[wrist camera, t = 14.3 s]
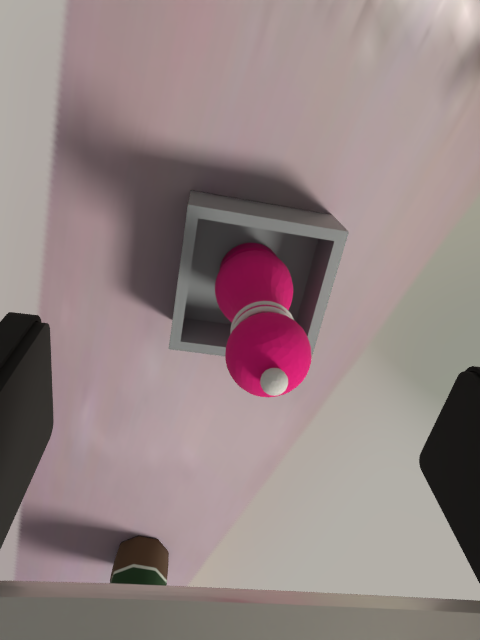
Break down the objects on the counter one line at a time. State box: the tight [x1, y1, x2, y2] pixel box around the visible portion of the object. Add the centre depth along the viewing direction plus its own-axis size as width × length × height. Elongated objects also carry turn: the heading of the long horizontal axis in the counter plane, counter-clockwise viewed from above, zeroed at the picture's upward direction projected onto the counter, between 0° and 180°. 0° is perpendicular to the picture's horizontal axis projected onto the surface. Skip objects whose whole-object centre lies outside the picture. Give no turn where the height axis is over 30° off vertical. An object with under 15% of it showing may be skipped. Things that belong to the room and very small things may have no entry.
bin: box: [169, 190, 349, 358], centre depth 44 cm, size 14×14×6 cm
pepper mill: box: [215, 243, 311, 397], centre depth 37 cm, size 7×7×20 cm
